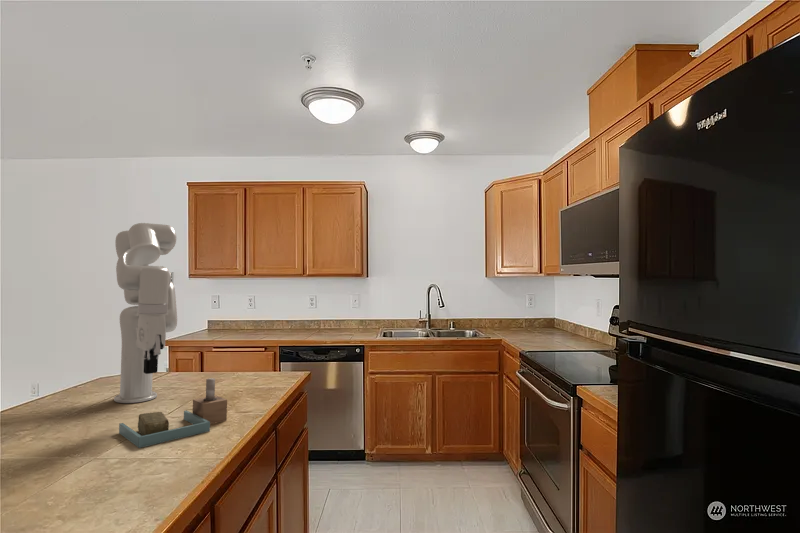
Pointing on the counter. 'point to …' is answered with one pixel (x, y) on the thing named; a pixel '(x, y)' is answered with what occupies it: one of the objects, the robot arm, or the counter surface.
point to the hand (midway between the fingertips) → (150, 372)
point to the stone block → (152, 423)
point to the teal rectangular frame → (155, 438)
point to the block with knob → (211, 405)
